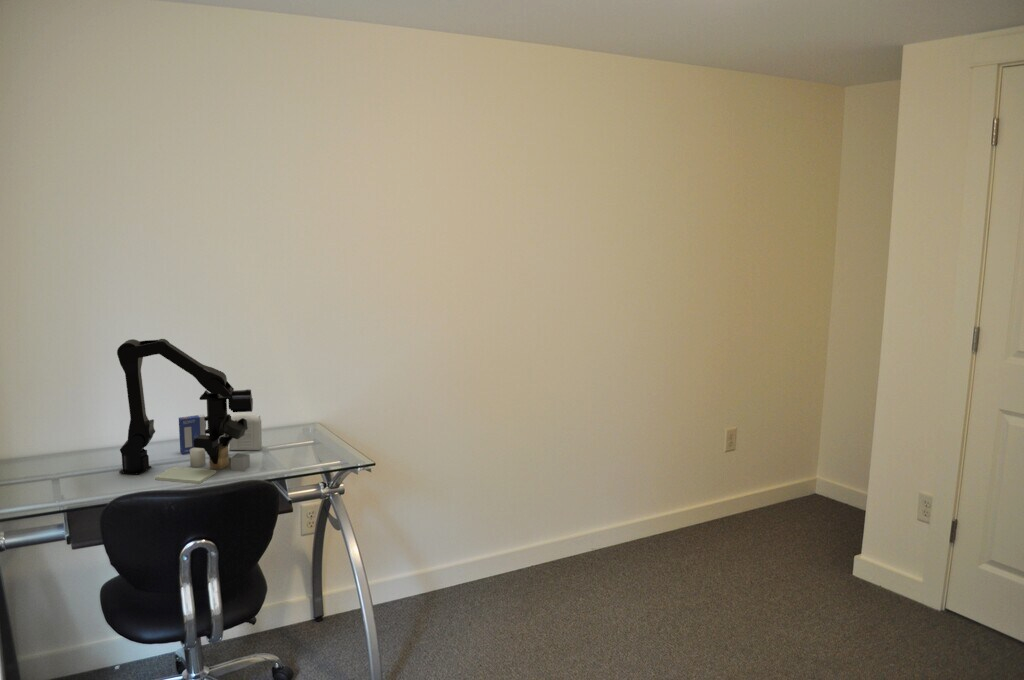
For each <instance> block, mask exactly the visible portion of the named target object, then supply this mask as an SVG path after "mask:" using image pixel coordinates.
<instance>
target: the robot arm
mask: <svg viewBox="0 0 1024 680" xmlns="http://www.w3.org/2000/svg"><path fill="white" fill-rule="evenodd" d="M116 355H117V358H118V360H119V364H120V366H121V368H122V370H123V372H124V374H125V382H126V383H125V385H126V391H127V401H128V409H129V416H130V420H129V426H128V429H127V430H128V431H127V432H128V433H127V440H126V441H125V442H124V443H123V445H122V446H121V447H120V449H119V451H120V454H121V463H122V465H121V466H122V469H120V470H119V474H126V475H127V474H128V475H141V474H142V473H144V472H145V471H148V470H150V469H151V468H152V465H150V461H149V455H148V450H147V449H145V448H146V447H147V446H148V445H149V443H150V442H151V441H152V439H153V437H154V434H155V432H156V429H155V426H154V422H155V420H154V419H149V418H148V416H147V411H146V404H145V395H144V385H143V378H142V365H143V359H144V358H146V357H151V356H154V355H160V356H162V357H163V358H165V359H166V360H168V361H169V362H171V363H172V364H174V365H176V366H177V367H179V368H180V369H182V370H184V371H185V372H186V373H188V374H190V375H191V376H192V377H194V378H195V380H197V382H198V383H199V384H200V385H201V386H202V387H203V389H205V390H204V392H203V393H202V394H200V397H199V400H200V401H205V400H206V415H207V416H206V415H205V417H204V420H205V421H206V422H207V428H206V430H205V434H206V435H201V436H199V437H197V438H195V439H194V440H193V447H194V448H204V449H205V453H206V454H207V455H208V457H209V460H210V459H211V460H212V462H213V463H214V464H217V463H218V453H219V447H220V446H228V447H229V442H230V441H231V440H232V439H233V438H234V439H239V438H240V437H242V436H244V433H245V430H247V429H248V427H247V426H248V425H247V420H246V419H244V418H242V419H240V420H239V421H238V422H237V420H236V421H233V420H231V414H228V409H229V410H230V411H232V413H253V408H254V407H253V405H254V401H253V395H252V389H240V390H235V388H234V387H233V386H232V384H231V383H229V382H228V380H227V379H228V378H227V375H226V374H225V373H224V372H223V371H221V370H219V369H217V368H214V367H212V366H208V365H206V364H203V363H201V362H199V361H198V360H196V359H194V358H193V357H192V356H190V355H189V354H187V353H186V352H185V351H183V350H181V349H180V348H178V347H177V346H175V345H173V343H170V341H168V340H167V339H166V338H159V339H150V340H149V339H148V340H141V341H140V340H137V339H128V340H126V341H125V342H123V343H122V344H120V345H119V347H117V350H116ZM227 400H228V401H227Z"/></svg>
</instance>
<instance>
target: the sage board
mask: <svg viewBox="0 0 1024 680" xmlns="http://www.w3.org/2000/svg"><path fill="white" fill-rule="evenodd" d="M215 474H217V470H216V469H205V468H204V469H203V468H195V467H180V466H172V467H170V468H168V469H167V470H165V471H163V472H161V473H159V474H158V475H157V476H155V477H154V480H156V481H166V482H176V483H177V482H178V483H187V484H189V483H191V484H202V483H203V482H204V481H206V480H208V479H209V478H210V477H212V476H214V475H215Z"/></svg>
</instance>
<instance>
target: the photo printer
mask: <svg viewBox="0 0 1024 680" xmlns="http://www.w3.org/2000/svg"><path fill="white" fill-rule="evenodd" d="M230 416H231V420H233V421H236V420H237V422H238V421H239V420H240V419H242V418H244V419H246V420H247V425H248V426H247V427H248V429H247V430H245V433H244V436H242V437H240V438H239V439H234V438H233V439H232V440H231V441H230V442H229V445H228V448H229V450H231V451H260V450H262V449H263V448H262V447H263V446H262V443H263V442H262V440H263V439H262V438H263V437H262V435H263V433H262V419H261V415H259V414H257V413H253V412H236V413H234V414H230Z"/></svg>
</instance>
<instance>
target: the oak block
mask: <svg viewBox="0 0 1024 680" xmlns="http://www.w3.org/2000/svg"><path fill="white" fill-rule="evenodd" d="M229 459H230V458H229V445H228V446H220V447H219V453H218V463H217V464H214V463H213V462H212V460H211V459H210V458H209V469H219V470H222V469H224V468H226V467H228V466H229V465H230V462H229Z"/></svg>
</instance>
